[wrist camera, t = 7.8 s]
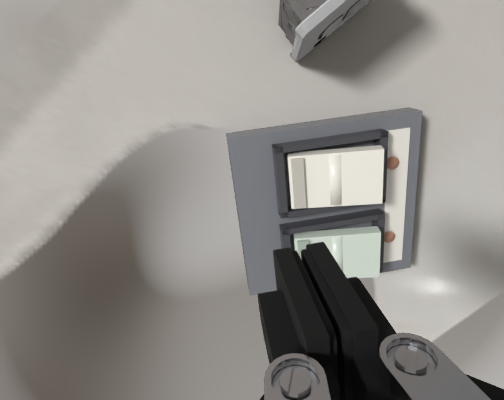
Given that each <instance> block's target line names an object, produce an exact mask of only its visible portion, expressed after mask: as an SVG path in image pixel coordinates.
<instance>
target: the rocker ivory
mask: <svg viewBox="0 0 504 400" xmlns="http://www.w3.org/2000/svg"><path fill="white" fill-rule="evenodd" d="M288 169H289V182H290V195H291V208H292V209H300V208H317V207H334V206H351V205H368V204H382V199H383V171H384V148H383V147H382V146H381V145H377V146H364V147H352V148H340V149H327V150H315V151H303V152H291V153H288Z"/></svg>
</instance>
